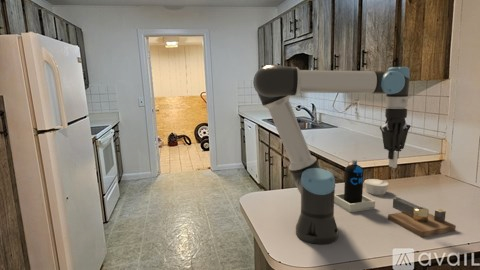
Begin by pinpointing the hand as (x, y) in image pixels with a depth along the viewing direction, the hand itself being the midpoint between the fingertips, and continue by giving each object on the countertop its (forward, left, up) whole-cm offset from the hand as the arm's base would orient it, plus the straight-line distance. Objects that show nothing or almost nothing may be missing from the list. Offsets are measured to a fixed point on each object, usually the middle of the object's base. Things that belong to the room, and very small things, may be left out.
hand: (392, 166), depth 123 cm
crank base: (+6, -9, -22) cm, 24 cm away
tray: (-6, +16, -22) cm, 27 cm away
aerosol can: (-6, +16, -21) cm, 27 cm away
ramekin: (+16, +27, -22) cm, 38 cm away
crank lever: (+6, -3, -19) cm, 20 cm away
